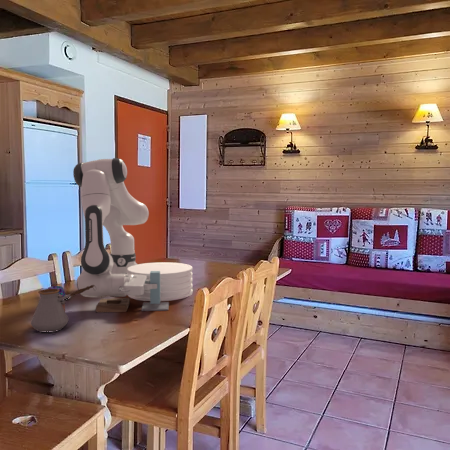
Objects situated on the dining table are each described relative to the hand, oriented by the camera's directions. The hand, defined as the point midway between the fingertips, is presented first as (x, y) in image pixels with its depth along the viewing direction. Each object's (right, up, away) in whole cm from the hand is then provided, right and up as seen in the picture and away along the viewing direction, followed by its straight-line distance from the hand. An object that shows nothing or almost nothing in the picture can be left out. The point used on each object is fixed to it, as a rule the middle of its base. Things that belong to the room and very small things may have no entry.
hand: (157, 284), depth 177 cm
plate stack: (-2, -7, +24) cm, 25 cm away
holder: (-17, -9, -1) cm, 19 cm away
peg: (-1, -7, +1) cm, 7 cm away
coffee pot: (-26, -12, -27) cm, 39 cm away
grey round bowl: (-44, -8, +14) cm, 47 cm away
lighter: (-32, -11, -18) cm, 38 cm away
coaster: (-1, -9, +1) cm, 9 cm away
